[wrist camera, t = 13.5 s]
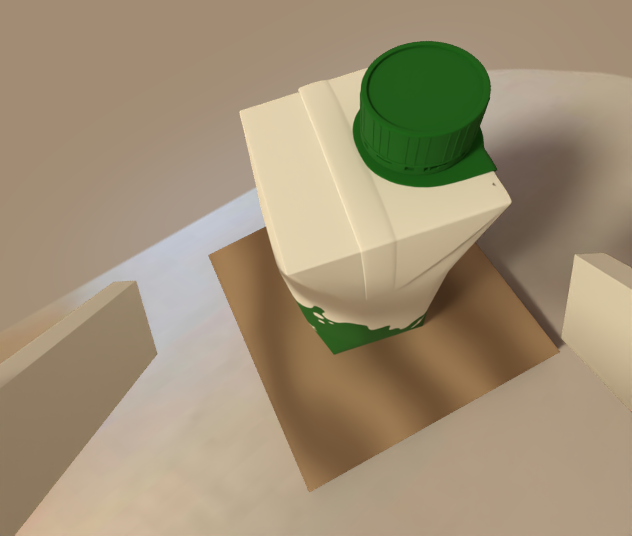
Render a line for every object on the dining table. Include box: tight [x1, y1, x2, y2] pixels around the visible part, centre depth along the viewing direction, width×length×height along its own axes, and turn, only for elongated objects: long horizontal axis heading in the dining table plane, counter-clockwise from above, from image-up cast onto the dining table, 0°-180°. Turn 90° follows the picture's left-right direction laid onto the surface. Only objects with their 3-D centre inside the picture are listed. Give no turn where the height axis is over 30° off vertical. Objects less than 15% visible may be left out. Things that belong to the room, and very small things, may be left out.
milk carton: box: [240, 41, 512, 355], centre depth 21 cm, size 9×9×20 cm
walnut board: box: [208, 227, 560, 492], centre depth 31 cm, size 20×20×2 cm
